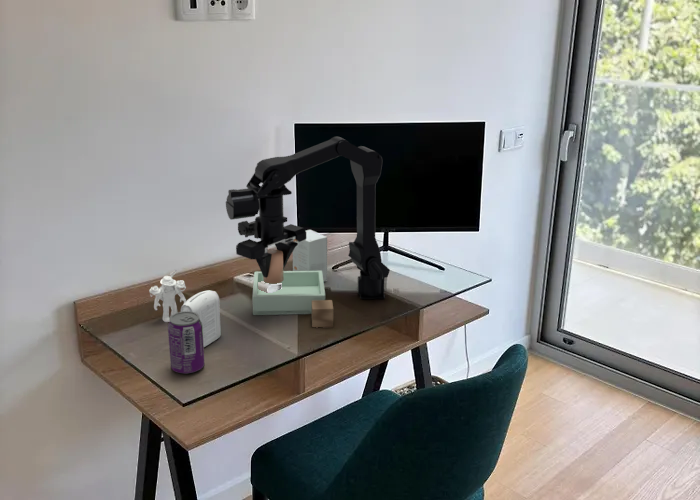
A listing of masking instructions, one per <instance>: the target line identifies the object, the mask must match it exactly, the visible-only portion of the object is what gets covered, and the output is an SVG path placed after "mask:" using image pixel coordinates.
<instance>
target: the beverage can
mask: <svg viewBox="0 0 700 500" xmlns="http://www.w3.org/2000/svg"><path fill="white" fill-rule="evenodd" d="M177 312H178V313H175V314H173V315H172V316H171V315H170V316H169V317H170V322H169V323H168V324H167V332H168V333H167V335H168V345H169V347H168V348H169V358H170V368H171V370H172V371H174V372H176V373H179V374H187V375H188V374H193V373H196V372H198V371H200V370H201V369H203V367H204V366H205V350H204V348H205V347H204V346H203V329H202V322H201V321H200V317H199V315H198V314H197V313H195V312H189V311H184V312H181V311H177Z"/></svg>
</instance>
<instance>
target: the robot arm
mask: <svg viewBox="0 0 700 500" xmlns="http://www.w3.org/2000/svg"><path fill="white" fill-rule="evenodd" d="M338 157H343V158H346V159H347V160H349V162H350V167H351V168H350V169H351V173H352V174H353V177H354V179H355V183H356V237H355V239H354V241H349V243H348V247H349V253H348V257H349V258H350V260H351V262H352V263H353V264H354V265H355V266H356V269H358V270H360V271H359V276H357V287H356V288H357V289H356V290H357V294H358V295H359V298H360V300H378V299H382V300H383V299H386V295H385V280H386V279H385V278H388V276H389V275H390V274H389V273H390V272H391V269H390V268H389V267H387V265H385V264H384V263H383V262H382V255H381V248H380V247H379V244H378V241H377V238H376V185H377V183H378V181H379V179H380V177H381V174H382V170H383V169H382V167H383V163H384V162H383V157H382V155H381V154H380V153H379V152H377V151H375V150H373V149H370V148H368V147H366V146H362V145H360V146H356V145H355V144H353V143H350V142H349V141H348V140H346V139H344V138H343V137H340V136H333V137H331V138H330V139H328V140H325V141H323V142H321V143H318V144H316V145H313V146H311V147H308V148H306V149H303V150H300V151H298V152H296V153H293V154H291V155H287V156H275V157H270V158H265V159H264V158H263V159H262V160H260V161H258V162H257V164H256V166H255V168H254V173H253V174H252V176H251V178H250V179H249V181H248V182H247V184H245V185H246V188H241V189H228V195H227V197H226V201H225V209H226V213H227V216H228V218H229V220H239V219H246V218H253V217H255V218H254V221H250V222H249V221H248V220H244V221H240V222H238V223H237V230H238V234H239V235H240V236H244V237H245V238H248V237H253V238H254V239H257V240H259V241H256V240H253V239H251V238H249V239H245V240H243V241H239V242H238V243H237V244H236V246H235V250H236V252H235V253H236V255H238V256H240V257H243V258H246V259H249V260H255V261H256V264H257V265H258V267H259V269H260V272H262V274H263V276H264V277H266V278H267V277H268V274H269V268H270V262H271V256H272V254H270V253H268V250H269V249H268V248H269V247H270V246H273V245H274V246H275V248H276V250H280V251H282V252H283V271H285V270H284V269H285V268H286V265H287V264H288V262H289V260H290V258H291V256H292V255H293V250H294V248H295V247H296V246H297V245H298V243H296V242H294V239H293V237H295V239H296V240H297V241H298V242H300V241H303V240H305V239H306V229H305V227H301V226H298V225H294V224H291V223H290V224H287V225H284V224H285V223H286V222H288V217H286V216H284V196H288V195H292V191H291V190H290V189H289V188H287V186H286V184H287V183H288V182H291V181H292V179H294V177H295V176H296V175H298V174H299V173H300V174H301V173H303V172H304V171H307V170H309V169H312V168H315V167H317V166H318V165H322V164H324V163H327V162H329V161H331V160H333V159H336V158H338ZM260 184H261V185H260ZM256 215H259V216H256Z"/></svg>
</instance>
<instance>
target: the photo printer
mask: <svg viewBox="0 0 700 500" xmlns="http://www.w3.org/2000/svg"><path fill="white" fill-rule="evenodd" d="M220 308H221V306H220V296H219V294H218V293H217V291H215V290H212V289H211V290H209V289H208V290H204V291H200V292H197V293H196V294H194V295H192V296H191V297H189V298H188V299H186V302H185V303H184V302H183V304H182V305H181V307H180V312H184V311H189V312H195V313H197V314H198V315H199V317H200V321H201V322H202V329H203V346H204V348H205V347H207V346H209V345H210V344H211V343H213V342H215V341H216V340H217V339H219V338H221V333H222V332H221V309H220Z"/></svg>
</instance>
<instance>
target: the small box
mask: <svg viewBox="0 0 700 500" xmlns="http://www.w3.org/2000/svg"><path fill="white" fill-rule="evenodd" d="M305 231H306V239H305V240H303V241H300V242H298V241H297V240H296V239H295V237H293V239H294V242H296V243H298V245H297V246H296V247H295V248H294V250H293V252H292V271H322V275H323V282H327V281H328V236H326V235H323V234H321V233H319V232H317V231H315V230H312V229H307V230H306V229H305Z"/></svg>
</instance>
